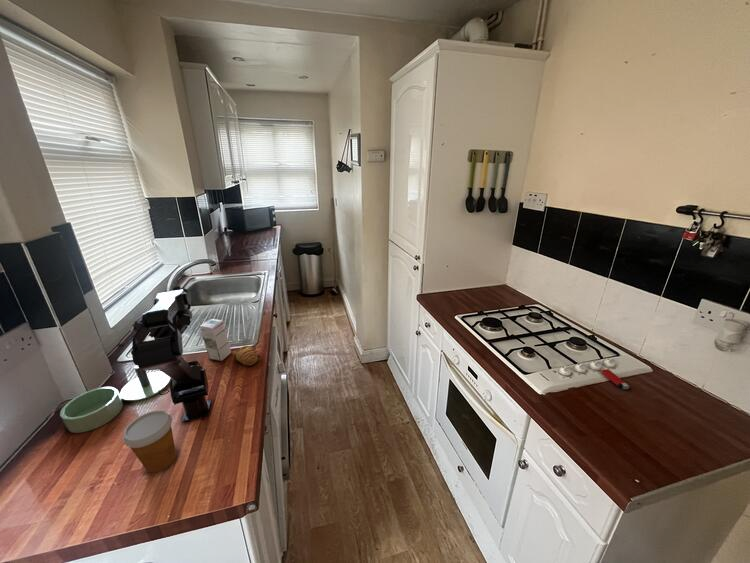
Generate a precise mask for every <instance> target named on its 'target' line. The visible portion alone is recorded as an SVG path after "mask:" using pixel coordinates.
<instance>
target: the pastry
mask: <svg viewBox="0 0 750 563" xmlns="http://www.w3.org/2000/svg"><path fill="white" fill-rule="evenodd" d="M235 358H236V360H237V362H239V363H240V364H242V365H244V366H252V365H254V364H256V363H257V362H258V360H259V357H258V352H257V350H255V348H254V347H252V346H249V345H244V346H241V347H240V348H239V349H238V350H237V351H236V353H235Z"/></svg>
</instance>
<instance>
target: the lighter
mask: <svg viewBox="0 0 750 563" xmlns="http://www.w3.org/2000/svg"><path fill="white" fill-rule="evenodd" d="M600 372H601V374H603V376H605V377H606V378H607V379H609V381H611V382H612V383H613V384H614V385H616V386H617V387H618V388H620V389H621V388H622V389H623V390H628V389H630V385H629V384H628V383H626V382H625V381H624V380H622V379H621V378H620V377H619V376H618V375H616V374H615V373H614V372H612V370H610V369H609V368H607V369H602V370H601V371H600Z"/></svg>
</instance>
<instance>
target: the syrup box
mask: <svg viewBox="0 0 750 563" xmlns="http://www.w3.org/2000/svg"><path fill="white" fill-rule="evenodd" d="M199 328H200V332H201V335H202V339H203V343H204V346H205V350H206V353H207V357H208V359H209V360H213V361H219V362H222V361H223V360H225V359H226V358H227V357H228V356H229V355H230V354H231V353H232V349H231V346H230V342H229V338H228V334H227V331H226V326H225V322H224V320H223V319H216V318H210V319H208V320H206V321H204V322H203V323H202V324H200V325H199Z"/></svg>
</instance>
